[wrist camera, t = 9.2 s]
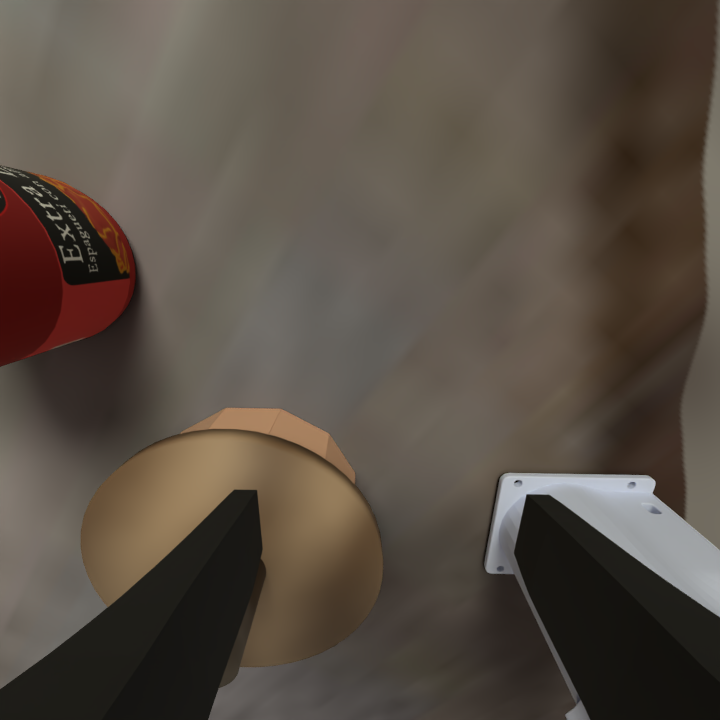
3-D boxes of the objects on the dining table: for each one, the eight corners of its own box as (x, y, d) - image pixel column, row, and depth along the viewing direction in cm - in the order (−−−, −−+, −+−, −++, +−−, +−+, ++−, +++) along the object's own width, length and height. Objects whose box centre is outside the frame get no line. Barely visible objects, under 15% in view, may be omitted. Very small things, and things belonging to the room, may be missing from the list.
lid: (413, 459, 16) (436, 550, 11) (351, 662, 21) (348, 787, 16) (89, 401, 15) (-38, 472, 10) (101, 628, 20) (18, 749, 15)
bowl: (356, 410, 19) (355, 449, 16) (353, 564, 23) (352, 625, 19) (150, 406, 19) (99, 444, 16) (181, 561, 23) (146, 622, 19)
